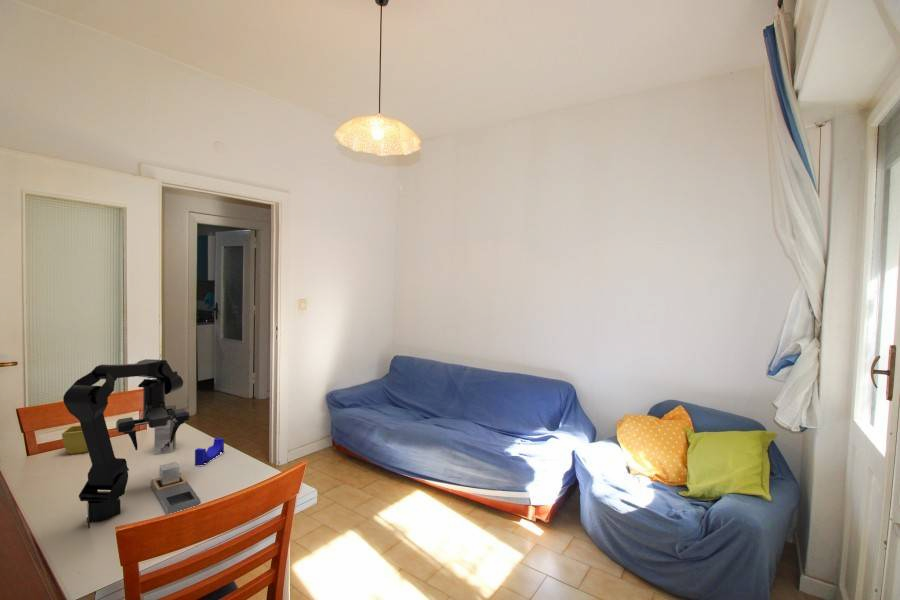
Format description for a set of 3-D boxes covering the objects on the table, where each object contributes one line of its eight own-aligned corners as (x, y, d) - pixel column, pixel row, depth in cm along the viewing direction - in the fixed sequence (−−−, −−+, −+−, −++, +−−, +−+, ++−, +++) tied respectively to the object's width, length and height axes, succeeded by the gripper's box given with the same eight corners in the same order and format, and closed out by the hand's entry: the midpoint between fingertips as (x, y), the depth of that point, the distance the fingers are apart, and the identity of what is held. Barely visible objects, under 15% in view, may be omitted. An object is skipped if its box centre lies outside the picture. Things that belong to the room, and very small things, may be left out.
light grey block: (162, 492, 130) (162, 470, 130) (159, 487, 133) (159, 465, 133) (179, 487, 133) (179, 466, 133) (176, 482, 136) (176, 461, 136)
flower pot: (70, 448, 163) (70, 425, 163) (99, 445, 167) (99, 423, 167) (61, 457, 155) (61, 433, 155) (91, 453, 159) (91, 430, 159)
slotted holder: (168, 520, 117) (168, 509, 117) (151, 488, 134) (151, 479, 134) (200, 510, 123) (200, 499, 122) (180, 481, 140) (180, 472, 140)
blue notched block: (212, 452, 164) (213, 437, 163) (223, 453, 163) (223, 438, 163) (191, 465, 152) (191, 449, 152) (202, 466, 151) (202, 450, 151)
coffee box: (157, 446, 168) (157, 406, 167) (176, 444, 171) (176, 404, 170) (153, 454, 160) (153, 413, 159) (173, 452, 163) (174, 411, 162)
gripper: (121, 409, 123) (121, 462, 123) (193, 398, 136) (193, 446, 136) (116, 401, 131) (115, 450, 131) (185, 391, 144) (184, 436, 144)
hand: (153, 446), depth 136 cm, fingers open, 9 cm apart
